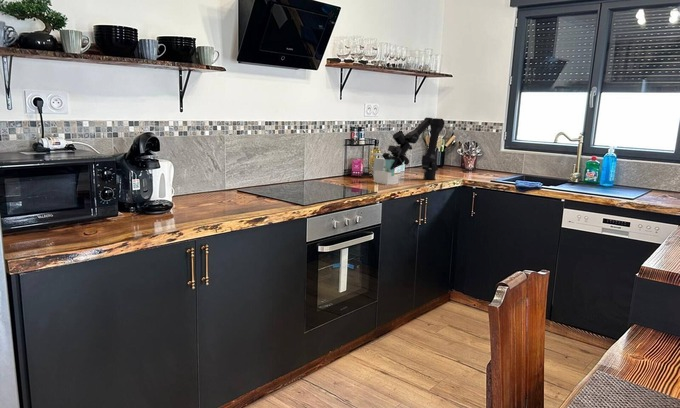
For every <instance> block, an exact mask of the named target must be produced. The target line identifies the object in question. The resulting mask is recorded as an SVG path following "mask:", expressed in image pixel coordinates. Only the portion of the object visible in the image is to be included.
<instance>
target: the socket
mask: <svg viewBox="0 0 680 408" xmlns="http://www.w3.org/2000/svg"><path fill="white" fill-rule="evenodd" d="M391 174H392V173H391V172H385V171H379V170H375V171H374V178H373V183H377V184H380V185H382V184H383V185H386V186H387V185H394V184H395V185H396V184H399V178H400V177H399V175H394V176H391Z"/></svg>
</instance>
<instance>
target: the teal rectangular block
mask: <svg viewBox="0 0 680 408" xmlns="http://www.w3.org/2000/svg"><path fill="white" fill-rule="evenodd" d="M394 161H395V160H391V159H388V160H385V172H391V173H392V174H391V176H395V169H396V168H394V169H392V170H391V169H390V168H391V166H392V164H393V163H394Z"/></svg>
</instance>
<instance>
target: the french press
mask: <svg viewBox="0 0 680 408" xmlns="http://www.w3.org/2000/svg"><path fill="white" fill-rule="evenodd" d="M379 139H380V138H379V137H376V139H375V140H376V142H377V141H379ZM372 153H373V154H372ZM372 153H370V156H374V157H380V158H384V157H383V156H382V155H383V153H381V152H379V153H375V152H372ZM372 162H374V161H372ZM372 165H373V166H372ZM371 166H372V167H373V168H372V167H371ZM370 167H371V168H372V169H373V170H374V163H371V162H370ZM372 169H370V170H372ZM373 170H372V171H373ZM372 171H371V173H372V175H373V172H372ZM372 175H371V176H372Z"/></svg>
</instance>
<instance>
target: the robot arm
mask: <svg viewBox="0 0 680 408" xmlns="http://www.w3.org/2000/svg"><path fill="white" fill-rule="evenodd" d="M444 126H445V120H444V119H443V118H438V117H436V118H435V117H433V118H432V117H425V118H424V119H423V120H422V121H421V123H420V124H418V126H416V127H415V128H414V129H413V130H412V131H411V130H410V131H409V132H407V133H406V134H405V133H404V132H403V131H402V130H398V131H396V132H395V133H394V134H393V135H392V139H393V140H394V142H395V143H396V144H397V145H389V146H388V148H387V151H388V152H383V153H382V156H381V157H383V158H384V159H385V160H388V159H391V160H395V161H394V163H393V164H392V166H391V168H390V169H391V170H392V169H394V168H395V169H396V168H399V167H400V166H403V165H405V166H407V165H409V164H410V159H409V158H408V156H407V154H406V153H407V152H408V151H409V150H410V151H411V150H413V145H412V144H416V143H417V142H418V140H419V138H420V135H422V133H424V132H425V131H426V129H427V128H429V127H430V130H431V133H430V138H429V141H428V142H429V143H428V147H427V151H426V153H425V154H424V155H422V159H421V166H422V167H421V168H422V170H424V171H423V180H426V181H436V180H437V179H436V171H438V170H439V167H438V165H437V163H436V160H437V159H436V156H435V154H436V149H437V145H438V140H439V138H440V137H439V136H440V133H441V132H442V130H444ZM389 152H390V153H389ZM395 169H394V170H395Z"/></svg>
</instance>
